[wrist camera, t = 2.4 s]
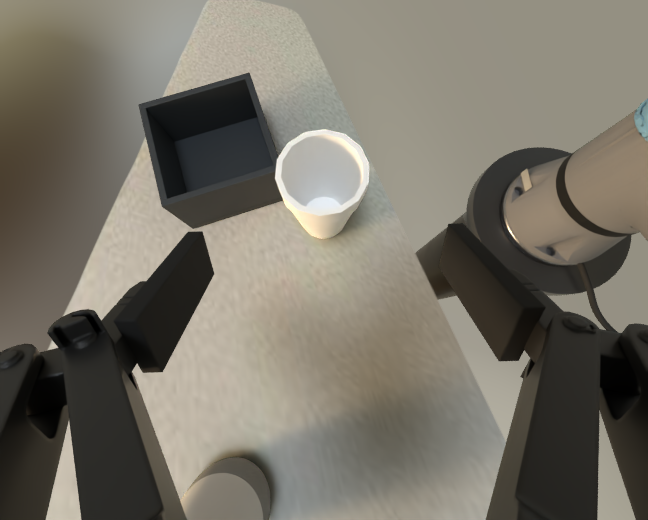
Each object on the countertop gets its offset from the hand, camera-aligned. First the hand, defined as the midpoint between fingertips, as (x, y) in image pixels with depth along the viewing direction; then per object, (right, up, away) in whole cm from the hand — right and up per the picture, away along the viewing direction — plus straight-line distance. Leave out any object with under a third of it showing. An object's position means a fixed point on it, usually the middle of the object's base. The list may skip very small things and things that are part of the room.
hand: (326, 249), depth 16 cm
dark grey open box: (-14, +13, +27) cm, 33 cm away
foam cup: (0, +5, +26) cm, 26 cm away
